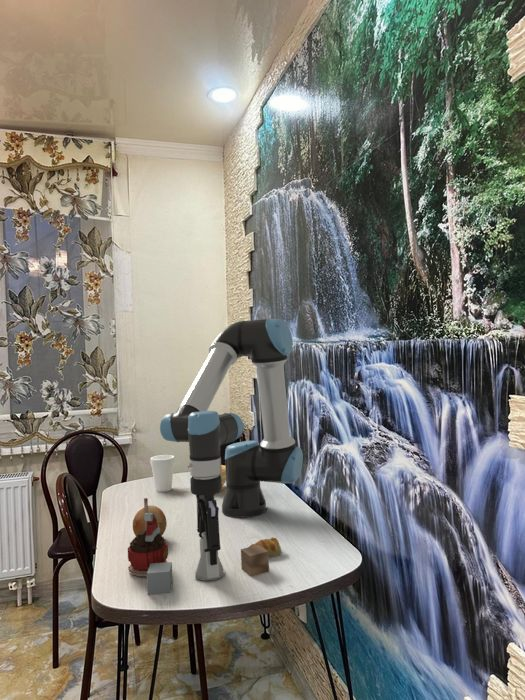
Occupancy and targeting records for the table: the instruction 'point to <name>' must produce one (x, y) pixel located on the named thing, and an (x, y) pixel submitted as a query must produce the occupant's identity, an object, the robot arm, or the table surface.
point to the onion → (140, 522)
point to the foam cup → (162, 472)
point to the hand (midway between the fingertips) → (209, 570)
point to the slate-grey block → (159, 578)
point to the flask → (202, 565)
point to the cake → (147, 546)
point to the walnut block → (254, 560)
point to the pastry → (270, 546)
